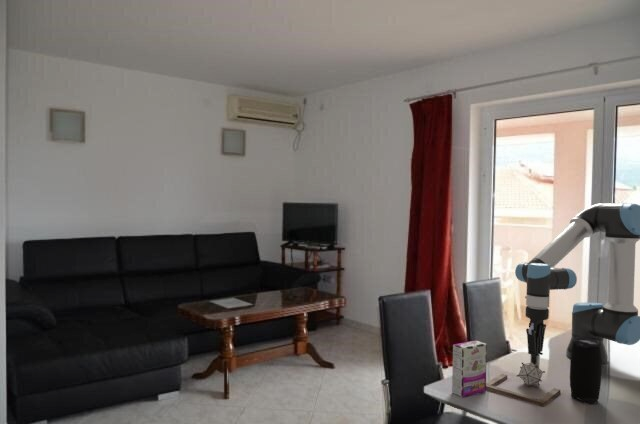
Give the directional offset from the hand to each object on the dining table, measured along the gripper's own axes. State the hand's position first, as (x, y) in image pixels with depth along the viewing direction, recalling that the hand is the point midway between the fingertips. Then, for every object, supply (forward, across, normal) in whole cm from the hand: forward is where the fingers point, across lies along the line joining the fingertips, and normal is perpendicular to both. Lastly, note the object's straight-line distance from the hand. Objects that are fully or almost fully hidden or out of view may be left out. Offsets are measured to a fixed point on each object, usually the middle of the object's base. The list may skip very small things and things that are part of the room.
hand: (534, 372), depth 173 cm
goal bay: (+3, +12, 0) cm, 12 cm away
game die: (+3, +5, +1) cm, 6 cm away
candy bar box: (+3, +28, -11) cm, 30 cm away
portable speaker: (+3, +4, +18) cm, 18 cm away
